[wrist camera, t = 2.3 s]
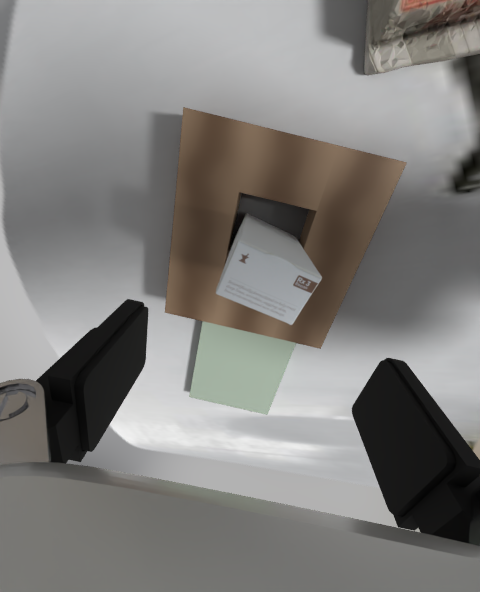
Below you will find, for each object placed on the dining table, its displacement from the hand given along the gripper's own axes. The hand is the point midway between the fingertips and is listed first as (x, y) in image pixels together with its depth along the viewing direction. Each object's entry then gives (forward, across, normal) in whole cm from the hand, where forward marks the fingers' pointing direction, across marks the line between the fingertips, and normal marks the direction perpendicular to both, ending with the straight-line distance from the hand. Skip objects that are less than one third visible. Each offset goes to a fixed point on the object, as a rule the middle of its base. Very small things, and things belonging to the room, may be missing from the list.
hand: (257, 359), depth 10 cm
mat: (+19, -2, +18) cm, 26 cm away
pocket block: (+19, 0, 0) cm, 19 cm away
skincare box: (+19, 0, 0) cm, 19 cm away
